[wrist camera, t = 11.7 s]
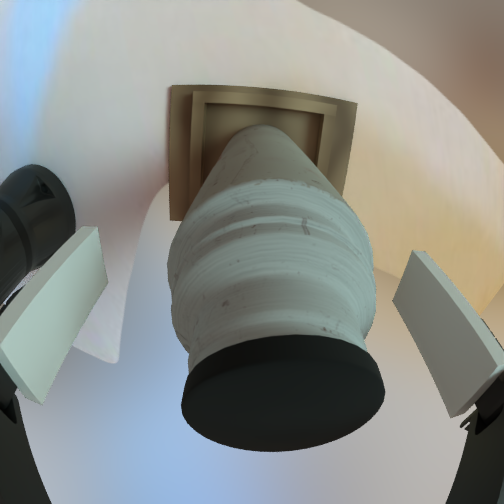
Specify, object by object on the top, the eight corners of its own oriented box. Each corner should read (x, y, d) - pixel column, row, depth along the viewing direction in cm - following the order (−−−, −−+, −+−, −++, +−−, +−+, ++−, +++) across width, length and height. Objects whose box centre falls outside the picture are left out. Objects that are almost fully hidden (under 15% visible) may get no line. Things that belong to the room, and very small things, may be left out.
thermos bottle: (218, 186, 31) (132, 449, 7) (232, 117, 28) (77, 248, 3) (287, 201, 32) (349, 467, 8) (305, 134, 28) (504, 320, 4)
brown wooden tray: (171, 218, 34) (165, 226, 32) (173, 85, 26) (167, 84, 24) (332, 231, 35) (337, 240, 33) (355, 103, 27) (363, 103, 25)
